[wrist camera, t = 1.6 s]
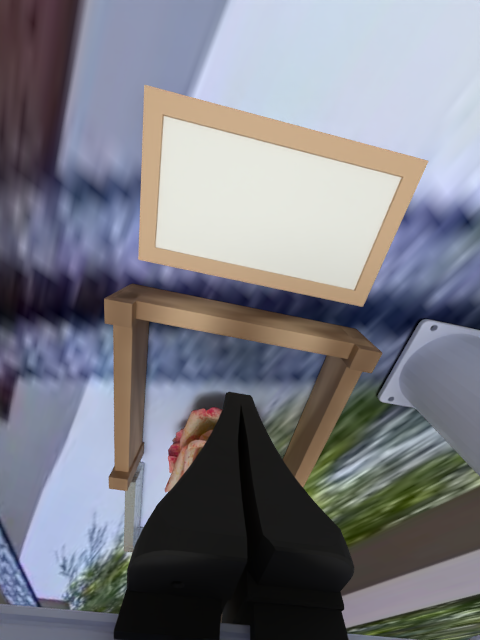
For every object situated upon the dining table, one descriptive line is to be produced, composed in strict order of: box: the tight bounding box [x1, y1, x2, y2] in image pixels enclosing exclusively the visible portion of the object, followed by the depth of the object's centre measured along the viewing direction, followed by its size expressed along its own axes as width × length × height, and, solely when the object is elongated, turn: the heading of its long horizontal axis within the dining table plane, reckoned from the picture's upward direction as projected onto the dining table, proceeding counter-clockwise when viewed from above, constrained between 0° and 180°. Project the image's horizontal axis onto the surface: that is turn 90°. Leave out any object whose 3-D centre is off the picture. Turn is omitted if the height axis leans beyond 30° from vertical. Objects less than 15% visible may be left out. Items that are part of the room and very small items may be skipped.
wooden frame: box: [104, 284, 382, 491], centre depth 19 cm, size 17×18×4 cm
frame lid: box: [138, 85, 428, 307], centre depth 14 cm, size 16×9×1 cm, turn 78°
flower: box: [165, 407, 222, 492], centre depth 19 cm, size 9×9×7 cm
